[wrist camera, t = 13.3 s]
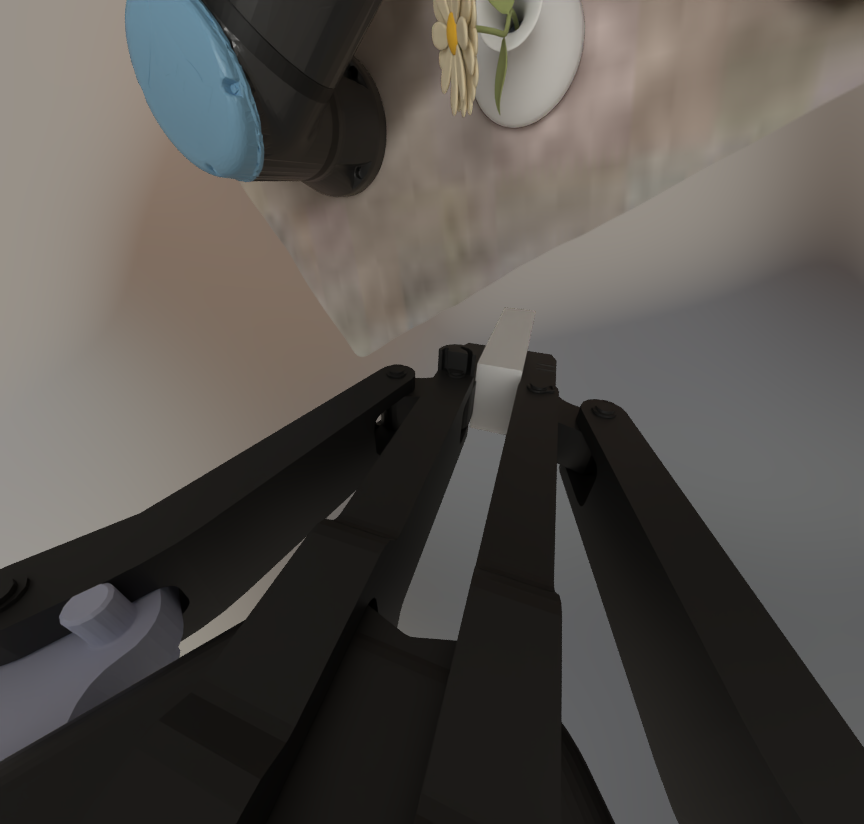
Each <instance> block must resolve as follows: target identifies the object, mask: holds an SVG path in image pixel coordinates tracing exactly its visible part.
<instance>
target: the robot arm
mask: <svg viewBox="0 0 864 824" xmlns="http://www.w3.org/2000/svg"><path fill="white" fill-rule="evenodd" d="M381 2H382V0H127V2H126V9H125V29H126V38H127V44H128V49H129V54H130V58H131V62H132V65H133V68H134V71H135V74H136V78H137V80H138V83H139V84H140V86H141V88H142V90H143V93H144V95H145V99H146V101H147V103H148V106H149V107H150V109H151V111H152V113H153V115H154V117H155V119H156V120H157V122H158V123H159V125H160V127H161V128H162V130H163V131H164V133H165V134H166V135H167V137H168V138H169V139H170V141H171V142H172V143H173V144H174V146H175V147H176V148H177V149H178V150H179V151H180V152H181V153H182V154H183V155H184V156H185V157H186V158H187V159H188V160H189V161H190V162H192V163H193V164H194V165H196V166H197V167H198V168H200V169H202V170H203V171H205V172H207V173H209V174H212V175H214V176H218V177H224V178H231V179H236V180H238V181H244V182H251V181H301V182H303V183H305V184H306V185H308V186H309V187H311V188H313V189H314V190H316V191H318V192H320V193H322V194H325V195H328V196H333V197H346V196H352V195H355V194H358V193H359V192H361V191H363V190H364V189H365V188H367V187H368V186H369V185H370V183H371V182H372V181H373V180H374V178H375V176H376V175H377V173H378V171H379V169H380V166H381V163H382V160H383V157H384V152H385V145H386V121H385V114H384V109H383V105H382V101H381V98H380V95H379V92H378V90H377V87H376V85H375V83H374V81H373V79H372V78H371V76H370V74H369V73H368V71H367V70H366V69H365V67H364V66H363V65H362V64H361V63H360V62H359V61H358V60H357V59H356V58H355V57H354V56H353V55H354V53H355V51H356V49H357V48H358V46H359V44H360V42H361V40H362V38H363V36H364V34H365V32H366V30H367V29H368V27H369V25H370V23H371V21H372V19H373V17H374V15H375V13H376V11H377V10H378V8H379V6H380V4H381ZM535 312H536V311H530V310H522V309H513V308H504V310H503V312H502V314H501V316H500V318H499V320H498V322H497V324H496V326H495V329H494V331H493V333H492V334H491V337H490V339H489V341H488V343H487V345H486V346H485V345H479V344H472V343H468V344H466V345H456V344H454V345H446V346H443V347H442V348H440V349H439V359H438V360H439V361H438V371H437V373H436V374H435V376H434V377H433V378H415V371H414V370H413V369H412V368H410V367H408V366H403V365H391V366H387V367H384V368H382V369H380V370H379V371H377V372H375V373H374V374H372V375H370V376H369V377H367V378H365V379H364V380H362V381H360V382H359V383H357V384H355V385H354V386H352V387H350V388H349V389H347V390H345V391H344V392H342V393H340V394H339V395H337V396H335V397H334V398H332V399H330V400H329V401H327V402H325V403H324V404H322V405H320V406H318V407H317V408H315V409H313V410H312V411H310V412H308V413H307V414H305V415H303V416H302V417H300V418H298V419H297V420H295V421H293V422H292V423H290V424H289V425H287V426H285V427H283V428H282V429H280V430H279V431H277V432H275V433H273V434H272V435H270V436H269V437H267V438H265V439H263V440H262V441H260V442H258V443H257V444H255V445H253V446H252V447H250V448H249V449H247V450H245V451H243V452H242V453H240V454H238V455H237V456H235V457H233V458H232V459H230V460H228V461H227V462H225V463H223V464H222V465H220V466H218V467H217V468H215V469H213V470H212V471H210V472H208V473H207V474H205V475H203V476H202V477H200V478H198V479H197V480H195V481H193V482H192V483H190V484H188V485H187V486H185V487H183V488H182V489H180V490H178V491H177V492H175V493H173V494H171V495H170V496H168V497H166V498H165V499H163V500H162V501H160V502H158V503H156V504H155V505H153V506H151V507H150V508H148V509H146V510H145V511H143V512H141V513H140V514H137V515H134V516H132V517H130V518H127V519H125V520H122V521H119V522H117V523H114V524H112V525H109V526H107V527H105V528H102V529H99V530H97V531H94V532H92V533H89V534H87V535H84V536H82V537H79V538H77V539H74V540H72V541H69V542H67V543H64V544H62V545H59V546H57V547H54V548H52V549H49V550H46V551H44V552H41V553H39V554H37V555H34V556H31V557H29V558H26V559H24V560H22V561H19V562H16V563H14V564H11V565H9V566H7V567H4V568H2V569H0V824H615V822H614V820H613V818H612V816H611V814H610V812H609V810H608V808H607V806H606V804H605V801H604V800H603V797H602V795H601V793H600V791H599V789H598V787H597V785H596V783H595V781H594V779H593V776H592V774H591V772H590V770H589V768H588V766H587V764H586V762H585V760H584V758H583V756H582V754H581V752H580V751H579V749H578V747H577V746H576V744H575V742H574V740H573V739H572V737H571V736H570V734H569V732H568V731H567V729H566V728H565V726H564V725H563V724H562V722H561V697H562V693H561V692H562V689H561V688H562V685H561V684H562V609H561V600H560V596H559V595H558V594H557V593H556V592H555V590H554V555H555V553H554V552H555V517H556V516H555V515H556V479H557V478H556V477H557V463H558V464H560V466H559V470H560V474H561V477H562V480H563V484H564V487H565V490H566V493H567V496H568V499H569V502H570V505H571V508H572V511H573V514H574V517H575V520H576V523H577V526H578V529H579V532H580V535H581V538H582V541H583V544H584V547H585V550H586V554H587V557H588V560H589V563H590V566H591V569H592V572H593V575H594V578H595V581H596V583H597V587H598V590H599V593H600V596H601V599H602V602H603V605H604V608H605V611H606V614H607V617H608V621H609V624H610V627H611V630H612V633H613V636H614V639H615V642H616V645H617V648H618V651H619V654H620V657H621V660H622V663H623V666H624V669H625V672H626V675H627V678H628V681H629V684H630V687H631V690H632V693H633V697H634V700H635V703H636V706H637V709H638V711H639V715H640V718H641V721H642V724H643V727H644V730H645V733H646V736H647V739H648V742H649V745H650V748H651V751H652V754H653V757H654V760H655V763H656V766H657V769H658V772H659V774H660V777H661V780H662V782H663V785H664V788H665V790H666V793H667V796H668V799H669V801H670V804H671V807H672V809H673V812H674V814H675V816H676V819H677V821H678V823H679V824H864V747H863V746H862V744H861V743H860V742H859V740H858V739H857V737H856V736H855V735H854V733H853V732H852V730H851V729H850V728H849V726H848V725H847V724H846V722H845V721H844V719H843V718H842V716H841V715H840V713H839V712H838V711H837V709H836V708H835V706H834V705H833V704H832V702H831V701H830V699H829V698H828V696H827V695H826V694H825V692H824V691H823V689H822V688H821V687H820V685H819V684H818V683H817V681H816V680H815V678H814V677H813V675H812V674H811V673H810V671H809V670H808V668H807V667H806V665H805V664H804V663H803V661H802V660H801V658H800V657H799V656H798V654H797V653H796V651H795V650H794V648H793V647H792V646H791V644H790V643H789V642H788V640H787V639H786V637H785V636H784V634H783V633H782V632H781V630H780V629H779V628H778V626H777V624H776V623H775V622H774V620H773V619H772V617H771V616H770V615H769V613H768V612H767V610H766V609H765V608H764V606H763V605H762V603H761V602H760V600H759V599H758V598H757V596H756V595H755V593H754V592H753V591H752V589H751V588H750V586H749V585H748V584H747V582H746V581H745V580H744V578H743V577H742V575H741V574H740V572H739V571H738V569H737V568H736V567H735V565H734V564H733V562H732V561H731V560H730V558H729V557H728V555H727V554H726V553H725V551H724V550H723V548H722V547H721V545H720V544H719V543H718V541H717V540H716V538H715V537H714V536H713V534H712V533H711V531H710V530H709V529H708V527H707V526H706V524H705V523H704V521H703V520H702V519H701V517H700V516H699V514H698V513H697V512H696V510H695V509H694V507H693V506H692V505H691V503H690V502H689V500H688V499H687V497H686V496H685V495H684V493H683V492H682V490H681V489H680V488H679V486H678V485H677V483H676V482H675V481H674V479H673V478H672V477H671V475H670V474H669V472H668V471H667V469H666V468H665V467H664V465H663V464H662V462H661V461H660V459H659V458H658V457H657V455H656V454H655V452H654V451H653V450H652V448H651V447H650V445H649V444H648V442H647V441H646V440H645V438H644V437H643V435H642V434H641V433H640V431H639V430H638V428H637V427H636V426H635V424H634V423H633V421H632V420H631V419H630V417H629V416H628V414H627V413H626V412H625V411H624V410H623V409H622V408H621V407H619V406H617V405H615V404H614V403H612V402H608V401H605V400H597V399H593V400H587V401H584V402H583V403H582V404H581V406H580V407H578V406H575V405H572V404H570V403H568V402H566V401H564V400H562V399H561V398H560V397H559V391H558V388H557V387H556V386H555V385H556V360H555V358H554V357H553V356H552V355H550V354H543V353H537V352H530V351H527V350H528V345H529V341H530V336H531V331H532V327H533V322H534V317H535ZM380 415H381V420H380V421H379V422H377V423H376V420H377V418H378V417H379V416H380ZM470 419H471V422H470ZM469 422H470V427H471V428H475V429H480V430H485V431H489V432H494V433H498V434H503V435H506V439H505V443H504V447H503V452H502V456H501V460H500V465H499V469H498V473H497V477H496V482H495V486H494V490H493V494H492V498H491V503H490V507H489V511H488V515H487V520H486V524H485V528H484V532H483V537H482V541H481V545H480V550H479V554H478V558H477V562H476V566H475V569H474V572H473V576H472V580H471V584H470V589H469V593H468V597H467V601H466V606H465V610H464V614H463V618H462V622H461V627H460V631H459V635H458V640H457V641H453V640H441V639H428V638H416V637H410V636H407V635H406V634H404V633H403V632H401V631H400V630H399V629H398V628H397V625H398V621H399V616H400V611H401V608H402V604H403V601H404V598H405V596H406V593H407V591H408V588H409V585H410V583H411V580H412V577H413V575H414V572H415V570H416V567H417V564H418V562H419V559H420V557H421V554H422V551H423V549H424V546H425V543H426V541H427V538H428V536H429V533H430V530H431V528H432V525H433V523H434V520H435V518H436V515H437V512H438V510H439V507H440V505H441V502H442V499H443V497H444V494H445V491H446V489H447V486H448V484H449V481H450V478H451V476H452V473H453V470H454V468H455V465H456V463H457V460H458V458H459V455H460V452H461V449H462V447H463V445H464V442H465V439H466V437H467V432H468V424H469ZM355 491H356V492H355ZM353 492H355V493H354V495H353V496H352V498H351V499H350V501H349V502H348V504H347V505H346V507H345V508H344V509H343V511H342V512H341V514H340V515H339V516H338V517H337V518H336V519H334V520H329V519H326V518H327V517H328V516H329V515H330V514H331V513H332V512H333V511H334V510H335V509H336V508H337V507H338V506H339V505H341V504H342V503H343V502H344V501H345V500H346V499H347V498H348V497H349V496H350V495H351V494H352V493H353ZM306 536H307V537H306ZM305 537H306V538H305ZM304 538H305V540H304V541H303V542H302V543H301V545H300V546H299V548H298V549H297V550H296V552H295V553H294V554H293V556H292V557H291V559H290V560H289V561H288V563H287V564H286V565H285V567H284V568H283V569H282V571H281V572H280V574H279V575H278V576H277V578H276V579H275V580H274V582H273V583H272V584H271V586H270V587H269V588H268V590H267V591H266V593H265V594H264V595H263V597H262V598H261V599H260V601H259V602H258V603H257V605H256V606H255V608H254V609H253V610H252V612H251V613H250V615H249V616H248V617H247V619H246V620H244V621H242V622H241V623H239V624H237V625H236V626H234V627H232V628H230V629H229V630H227V631H225V632H223V633H222V634H220V635H218V636H216V637H215V638H213V639H211V640H210V641H208V642H206V643H204V644H203V645H201V646H199V647H198V648H196V649H194V650H192V651H190V652H189V653H187V654H185V655H184V656H182V657H180V658H179V656H180V649H179V648H178V646H179V644H180V642H181V641H182V640H184V639H186V638H187V637H189V636H190V635H192V634H193V633H195V632H196V631H198V630H199V629H201V628H202V627H204V626H205V625H206V624H208V623H209V622H210V621H212V620H213V619H214V618H216V617H217V616H218V615H220V614H221V613H222V612H224V611H225V610H226V609H227V608H228V607H229V606H231V605H232V604H233V603H234V602H235V601H237V600H238V599H239V598H240V597H241V596H242V595H244V594H245V593H246V592H247V591H248V590H249V589H250V588H251V587H252V586H254V585H255V584H256V583H257V582H258V581H259V580H260V579H261V578H262V577H263V576H264V575H265V574H266V573H267V572H269V571H270V570H271V569H272V568H273V567H274V566H275V565H276V564H277V563H278V562H279V561H280V560H282V559H283V558H284V557H285V556H286V555H287V554H288V553H289V552H290V551H291V550H292V549H293V548H294V547H295V546H297V545H298V544H299V543H300V542H301V541H302V540H303V539H304Z"/></svg>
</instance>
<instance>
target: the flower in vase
mask: <svg viewBox="0 0 864 824" xmlns="http://www.w3.org/2000/svg"><path fill="white" fill-rule="evenodd" d="M433 8H434V13H435V17H436V19H437V21H438V22H436V23H434V25H433V26H432V40H433V43H434V46H435V47H436V48H437V49H439V50H440V53H439V64H440V68H441V70H442V74H441V89H442V92H443V94H445V93H446V92H447V90H448V87H449V84H450V80H451V109H452V114H453V115H454V116H455V115H456V113H457V110H458V112H460V110H461V113H462V117H463V118H464V117H465V114H466V110H468V114H469V115H471V113H472V108H473V101H474V100H475V98H476V100H477V102H478V104H479V106H480V108H481V109H482V111H483V112H484V113H485V115H486V116H487V117H488V118H490V119H491V120H492V121H493V122H495V123H497V124H499V125H501V126H504V127H509V128H519V127H524V126H528V125H530V124H533V123H535V122H537V121H538V120H540V119H541V118H543V117H544V116H546V115H547V114H548V113H549V112H550V111H551V110H552V109H553V108H554V107H555V106H556V105H557V104H558V103H559V101H560V100H561V99H562V98H563V96H564V95H565V93H566V92H567V90H568V88H569V86H570V84H571V83H572V81H573V78H574V76H575V74H576V71H577V69H578V66H579V63H580V59H581V55H582V51H583V45H584V36H585V21H584V12H583V7H582V3H581V0H476V2H475V0H433ZM476 24H477V25H476Z"/></svg>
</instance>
